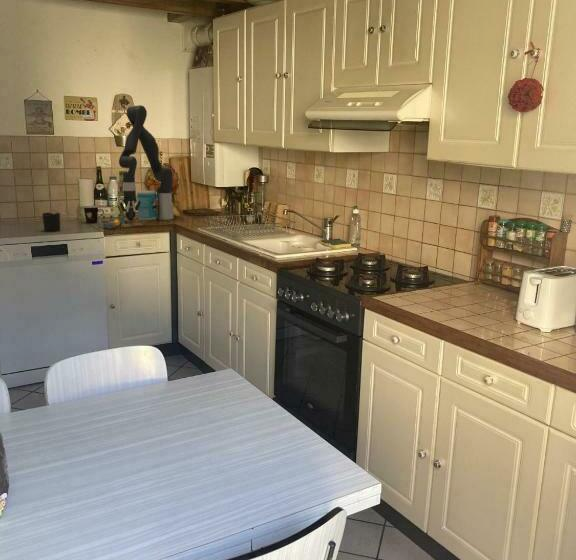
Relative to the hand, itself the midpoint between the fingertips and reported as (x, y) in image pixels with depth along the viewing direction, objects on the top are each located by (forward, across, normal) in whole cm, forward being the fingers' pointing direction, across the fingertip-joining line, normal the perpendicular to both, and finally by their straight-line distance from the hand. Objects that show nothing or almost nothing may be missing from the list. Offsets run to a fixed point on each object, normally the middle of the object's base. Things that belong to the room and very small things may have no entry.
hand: (130, 217), depth 382 cm
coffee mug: (+5, +17, -19) cm, 26 cm away
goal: (+5, +16, 0) cm, 17 cm away
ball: (+3, +9, 0) cm, 9 cm away
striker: (+4, +2, 0) cm, 5 cm away
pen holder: (+5, +46, -4) cm, 46 cm away
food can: (+5, -18, -17) cm, 25 cm away
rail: (+5, 0, 0) cm, 5 cm away
